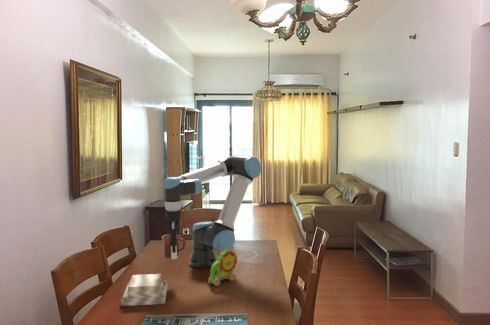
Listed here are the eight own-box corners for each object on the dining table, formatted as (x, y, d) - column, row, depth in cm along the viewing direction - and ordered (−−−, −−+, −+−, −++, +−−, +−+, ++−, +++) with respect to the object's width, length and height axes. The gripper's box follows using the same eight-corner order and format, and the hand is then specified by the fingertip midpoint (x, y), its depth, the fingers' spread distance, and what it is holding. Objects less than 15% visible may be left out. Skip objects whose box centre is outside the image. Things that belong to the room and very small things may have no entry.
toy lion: (215, 287, 198) (214, 255, 196) (207, 284, 202) (207, 253, 200) (239, 279, 209) (239, 249, 208) (231, 276, 213) (231, 246, 211)
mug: (158, 258, 200) (158, 237, 200) (168, 253, 209) (167, 233, 208) (181, 261, 196) (180, 239, 196) (189, 255, 205) (189, 234, 204)
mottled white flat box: (167, 288, 197) (166, 272, 196) (164, 303, 179) (164, 286, 178) (127, 289, 194) (127, 274, 194) (121, 306, 177) (121, 288, 176)
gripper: (166, 205, 211) (167, 250, 213) (163, 214, 191) (165, 263, 193) (181, 205, 212) (182, 249, 214) (180, 213, 192) (181, 262, 194)
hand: (174, 256), depth 203 cm, fingers closed on mug, 7 cm apart
